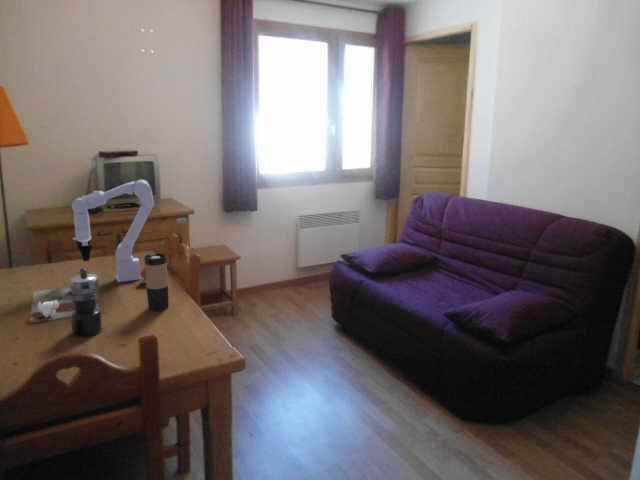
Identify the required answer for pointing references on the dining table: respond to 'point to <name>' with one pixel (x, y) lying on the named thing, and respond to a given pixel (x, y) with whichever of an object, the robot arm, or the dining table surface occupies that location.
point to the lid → (83, 277)
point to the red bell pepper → (143, 275)
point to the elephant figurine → (48, 307)
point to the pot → (84, 287)
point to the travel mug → (156, 282)
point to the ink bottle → (86, 316)
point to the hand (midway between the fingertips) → (85, 258)
